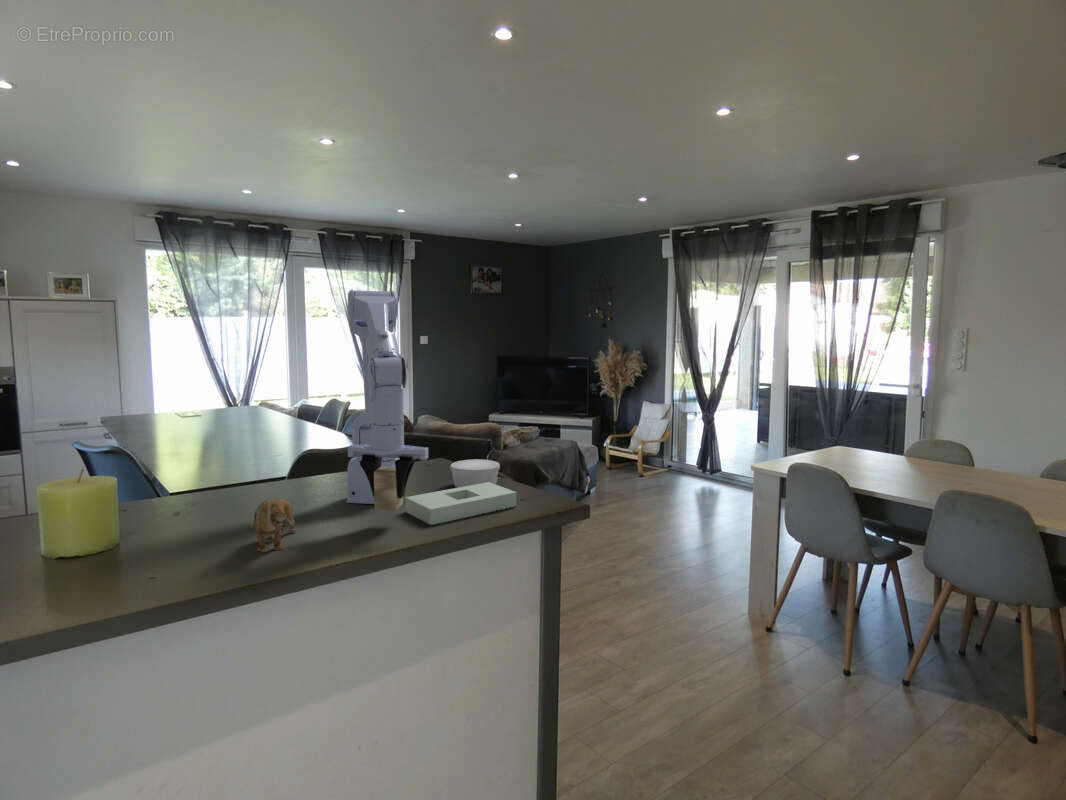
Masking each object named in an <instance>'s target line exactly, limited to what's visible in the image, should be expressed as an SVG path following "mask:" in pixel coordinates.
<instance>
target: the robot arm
mask: <svg viewBox="0 0 1066 800" xmlns="http://www.w3.org/2000/svg"><path fill="white" fill-rule="evenodd" d="M398 301H399V300H398V295H397V293H396V292H395V290H390V291H387V290H385V291H384V290H356V289H355V290H354V289H350V290H349V291H348V292H347V315H348V327H349V328H350V329H349V330H350V332H351V333H353V334H355V335H356V336H358V339H359V342H360V345H361V355H362V372H363V373H362V376H363V389H364V391H363V395H364V396H363V397H364V410H365V411H364V412H363V413H362V414H360V415H358V417H356V418H355V419H354V421H353V422H352V433H351V438H352V439H351V440H352V444H350V445H349V446H347V457H349V458H351V459H349V462H348V464H347V470H346V480H347V481H346V482H347V484H346V485H347V500H346V503H347V504H348V503H349V504H364V505H365V504H366V505H368V504H369V505H374V471H376V470H377V469H379V468H380V467H395V468H396V474H397V497H398V498H402V497H403V498H404V496H405V493H406V488H407V483H408V480H409V477H410V474H411V471H412V469H413V467H414V465H415V463H416V460H420V461H427V460H428V459H429V447H424V446H415V445H408V444H407V445H406V444H405V429H404V428H405V426H404V423H405V420H404V419H405V418H404V417H405V416H404V415H405V413H404V410H405V409H404V408H405V407H404V389H405V388H406V387H407V381H408V380H407V378H408V376H407V375H408V371H407V368H408V367H407V362H406V360H405V357H404V355H403V354H401V353H400V350H399V345H398V341H397V337H396V336H395V334H394V329H395V327H396V325H397V319H398V318H397V317H398V311H399V303H398ZM397 459H398V460H397Z"/></svg>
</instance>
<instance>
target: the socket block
mask: <svg viewBox="0 0 1066 800" xmlns="http://www.w3.org/2000/svg"><path fill="white" fill-rule="evenodd" d="M517 494H518V493H517V491H514V490H511V489H508V488H507V487H503V486H501V485H498V484H496V485H495V484H493V483H490V482H487V483H481V484H476V485H470V486H465V487H459V488H457V487H454V488H450V489H449V488H448V489H443V490H439V491H433V492H427V493H421V494H416V495H411V496H405V498H404V500H405V512H406V513H407V514H409V515H411V516H412V515H413V517H414V516H415V517H414V518H416V519H418V520H420V521H422V522H424V523H426V524H427V525H430V526H432V525H437V524H443V523H447V522H451V521H455V520H460V519H465V518H470V517H474V516H478V515H483V513H484V514H488V513H492V511H493V512H497V511H496V510H498V511H502V510H506V508H507V509H511V508H515V506H516V507H517ZM510 507H511V508H510ZM501 509H502V510H501Z"/></svg>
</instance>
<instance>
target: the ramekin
mask: <svg viewBox="0 0 1066 800" xmlns="http://www.w3.org/2000/svg"><path fill="white" fill-rule="evenodd" d="M500 467H501V465H500V462H498V461H495V460H491V459H481V458H480V459H478V458H475V459H464V460H458V461H455V462H453V463H451V464H450V470H451V474H452V479H453V484H454V486H455V488H459V487H465V486H470V485H476V484H481V483H487V482H490V483H493V484H495V485H497V481H498V476H499V470H500ZM496 476H497V477H496Z"/></svg>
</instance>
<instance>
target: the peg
mask: <svg viewBox="0 0 1066 800" xmlns="http://www.w3.org/2000/svg"><path fill="white" fill-rule="evenodd" d="M403 504H404V496H403V497H402V498H398V497H397V474H396V468H395V467H380V468H379V469H377V470H376V471H374V504H373V505H374V510H381V511H382V510H383V511H397V510H398V509H399V508H400V507H401V506H402V505H403Z"/></svg>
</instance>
